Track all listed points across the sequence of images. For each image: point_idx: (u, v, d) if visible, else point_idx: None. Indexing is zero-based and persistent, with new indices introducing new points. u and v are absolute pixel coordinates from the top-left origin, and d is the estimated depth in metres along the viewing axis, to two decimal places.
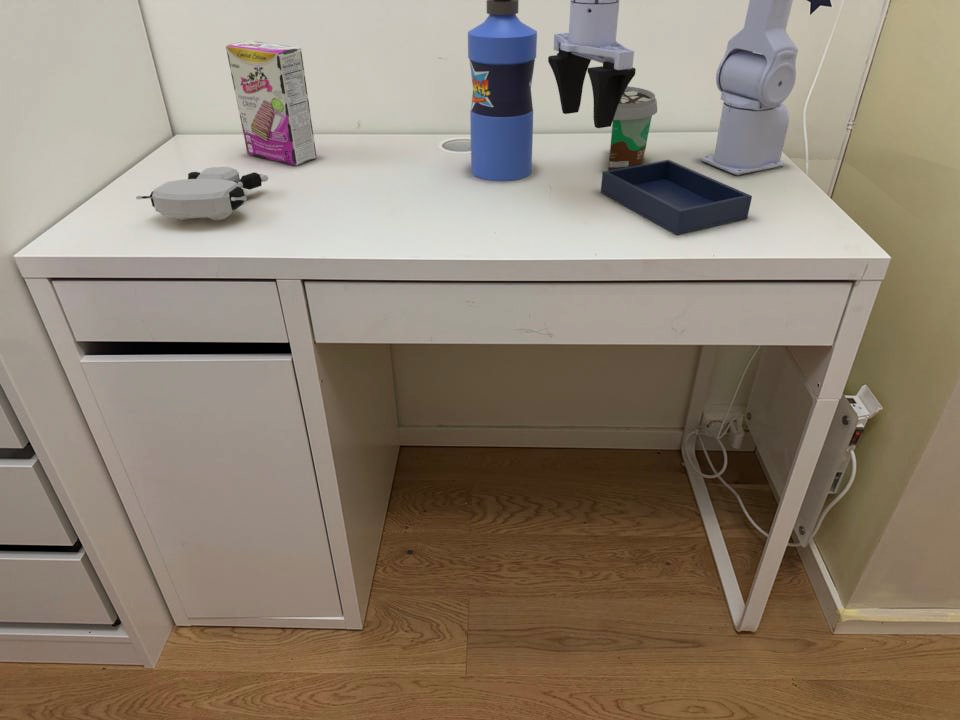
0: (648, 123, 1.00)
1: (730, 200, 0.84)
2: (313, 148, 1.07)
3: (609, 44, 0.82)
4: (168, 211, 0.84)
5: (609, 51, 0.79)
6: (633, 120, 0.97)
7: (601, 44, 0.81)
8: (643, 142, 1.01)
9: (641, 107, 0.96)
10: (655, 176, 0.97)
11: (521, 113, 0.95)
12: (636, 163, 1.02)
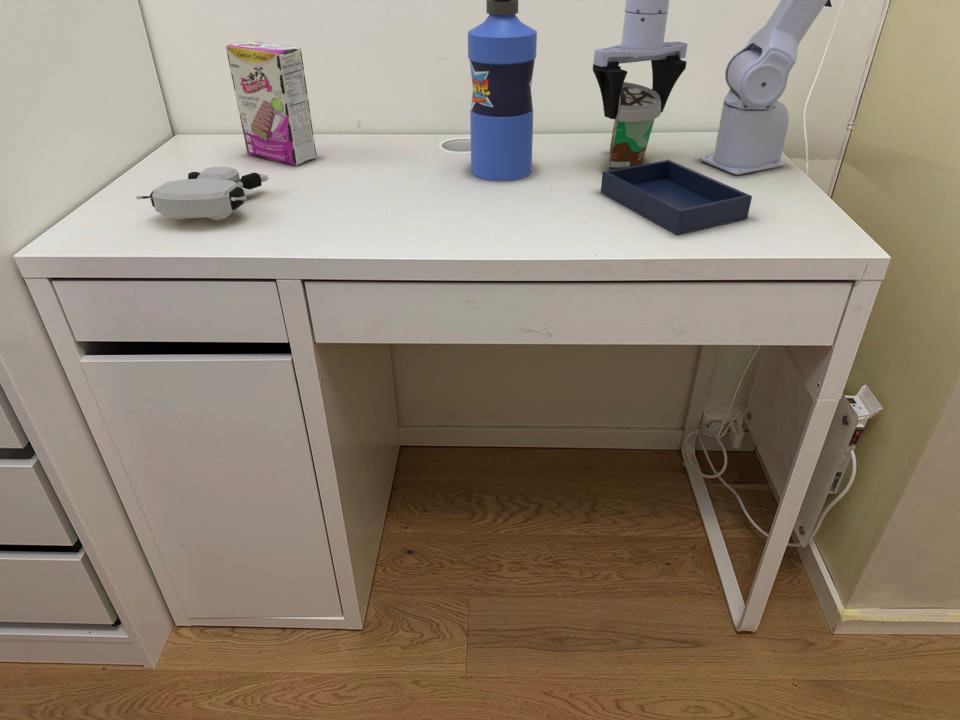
0: (651, 124, 0.99)
1: (730, 200, 0.84)
2: (313, 148, 1.07)
3: (627, 48, 0.95)
4: (168, 211, 0.84)
5: None
6: (638, 122, 0.97)
7: (623, 46, 0.95)
8: (645, 143, 1.01)
9: (647, 110, 0.96)
10: (655, 176, 0.97)
11: (521, 113, 0.95)
12: (637, 163, 1.02)
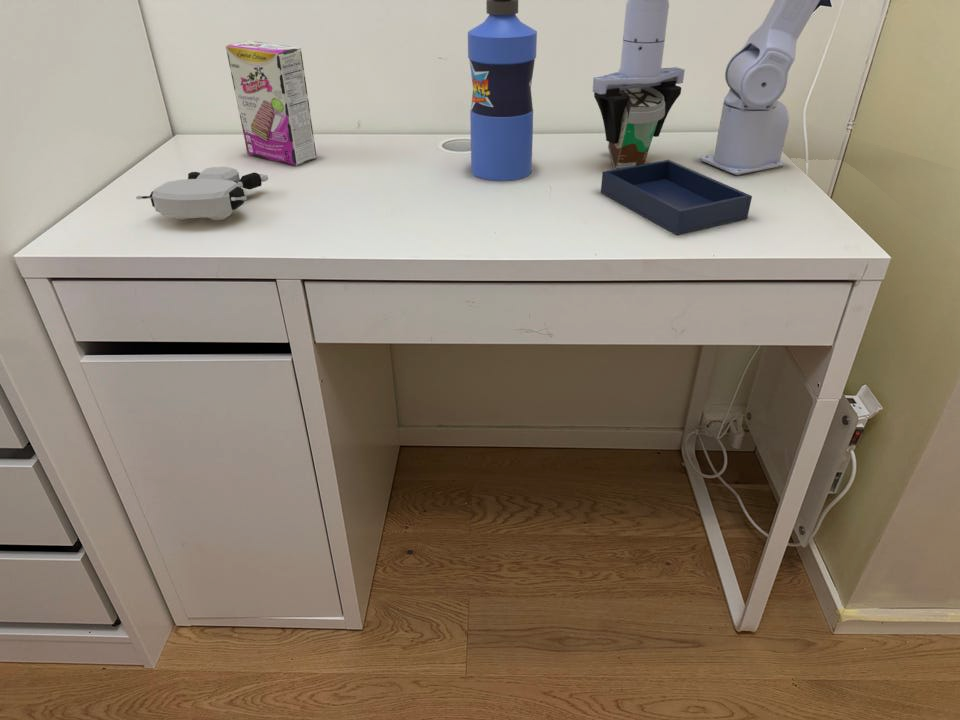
0: (656, 124, 0.99)
1: (730, 200, 0.84)
2: (313, 148, 1.07)
3: (626, 75, 0.97)
4: (168, 211, 0.84)
5: None
6: (646, 123, 0.96)
7: (621, 73, 0.97)
8: (650, 143, 1.01)
9: (655, 110, 0.95)
10: (655, 176, 0.97)
11: (521, 113, 0.95)
12: (641, 163, 1.02)
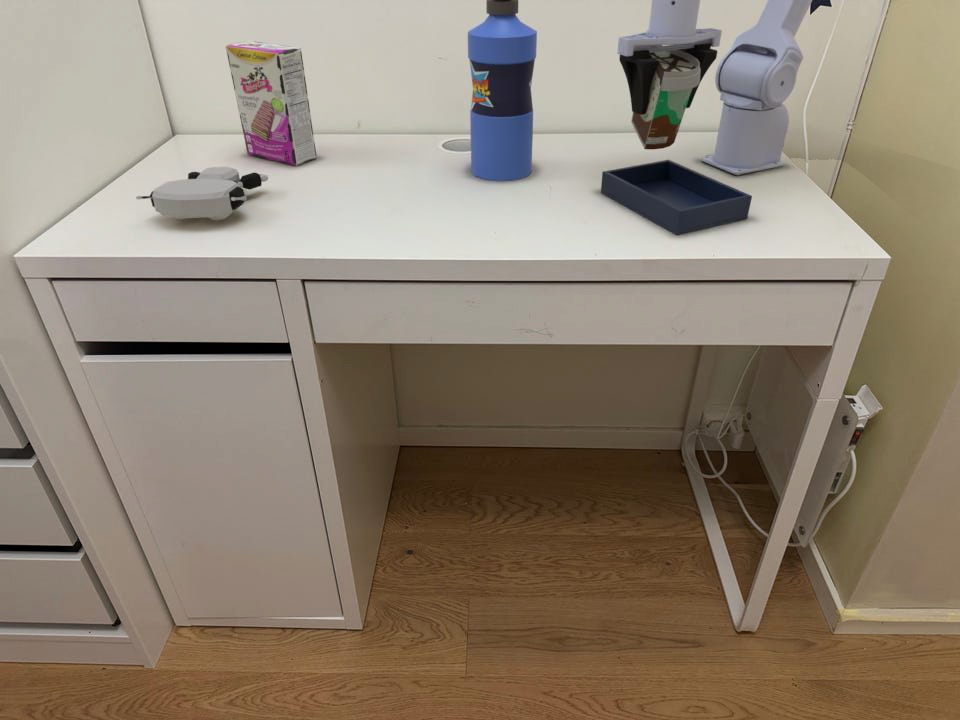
0: (690, 92, 0.87)
1: (730, 200, 0.84)
2: (313, 148, 1.07)
3: (656, 35, 0.85)
4: (168, 211, 0.84)
5: (628, 36, 0.85)
6: (681, 91, 0.84)
7: (650, 33, 0.85)
8: (683, 114, 0.89)
9: (691, 76, 0.84)
10: (655, 176, 0.97)
11: (521, 113, 0.95)
12: (673, 138, 0.90)
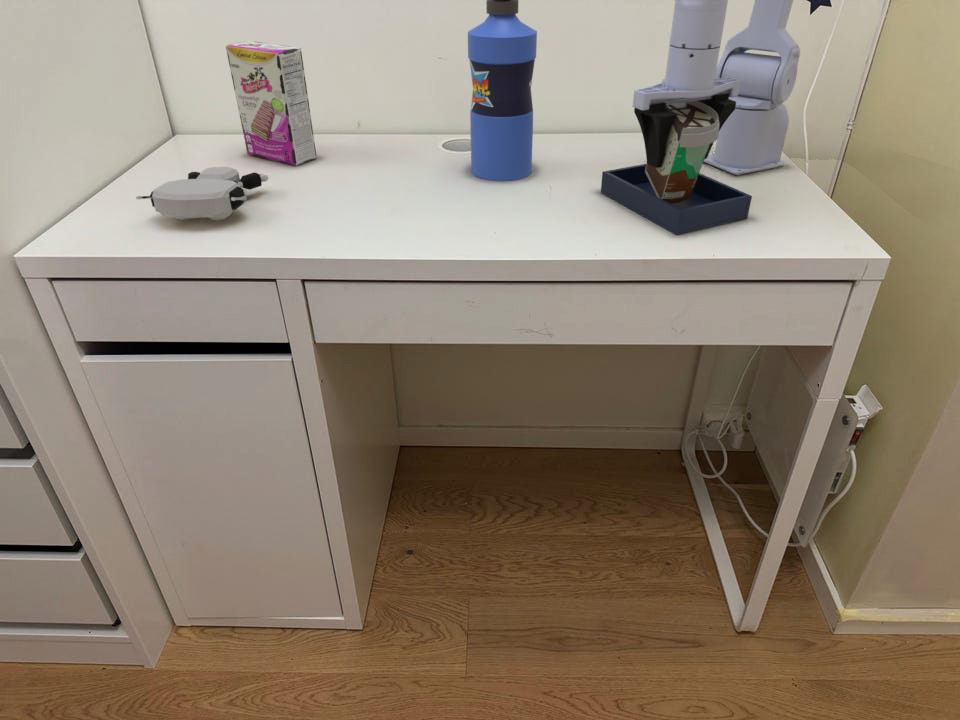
0: (708, 146, 0.84)
1: (730, 200, 0.84)
2: (313, 148, 1.07)
3: (673, 88, 0.81)
4: (168, 211, 0.84)
5: (644, 89, 0.82)
6: (699, 146, 0.81)
7: (667, 85, 0.82)
8: (700, 167, 0.85)
9: (710, 131, 0.80)
10: None
11: (521, 113, 0.95)
12: (690, 191, 0.86)
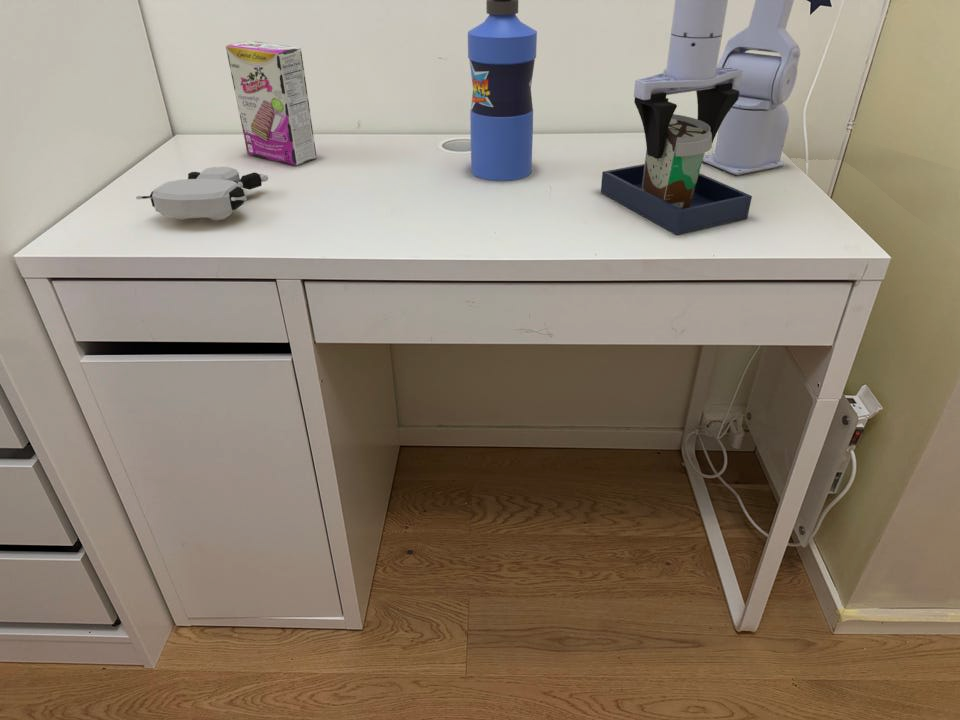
0: None
1: (730, 200, 0.84)
2: (313, 148, 1.07)
3: (674, 77, 0.80)
4: (168, 211, 0.84)
5: None
6: (694, 155, 0.82)
7: (668, 74, 0.81)
8: None
9: (704, 140, 0.81)
10: None
11: (521, 113, 0.95)
12: (689, 203, 0.87)
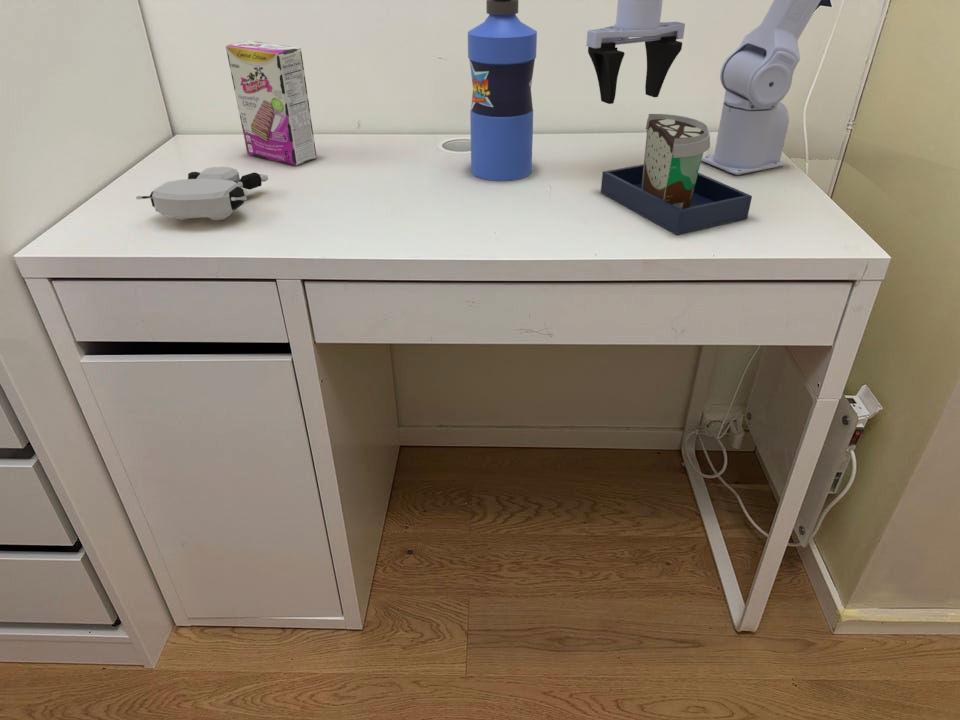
0: (701, 157, 0.85)
1: (730, 200, 0.84)
2: (313, 148, 1.07)
3: (622, 28, 0.90)
4: (168, 211, 0.84)
5: None
6: (693, 156, 0.82)
7: (617, 26, 0.91)
8: None
9: (702, 140, 0.81)
10: None
11: (521, 113, 0.95)
12: (688, 203, 0.87)
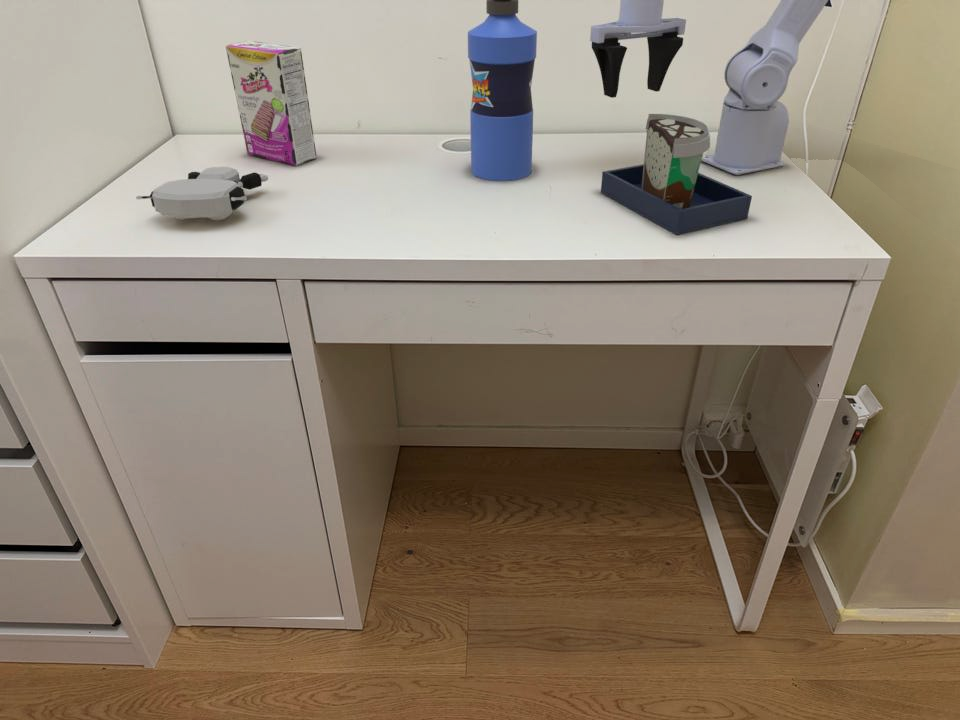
0: (701, 157, 0.85)
1: (730, 200, 0.84)
2: (313, 148, 1.07)
3: (625, 24, 0.93)
4: (168, 211, 0.84)
5: (600, 25, 0.93)
6: (693, 156, 0.82)
7: (620, 22, 0.93)
8: None
9: (702, 140, 0.81)
10: None
11: (521, 113, 0.95)
12: (688, 203, 0.87)
